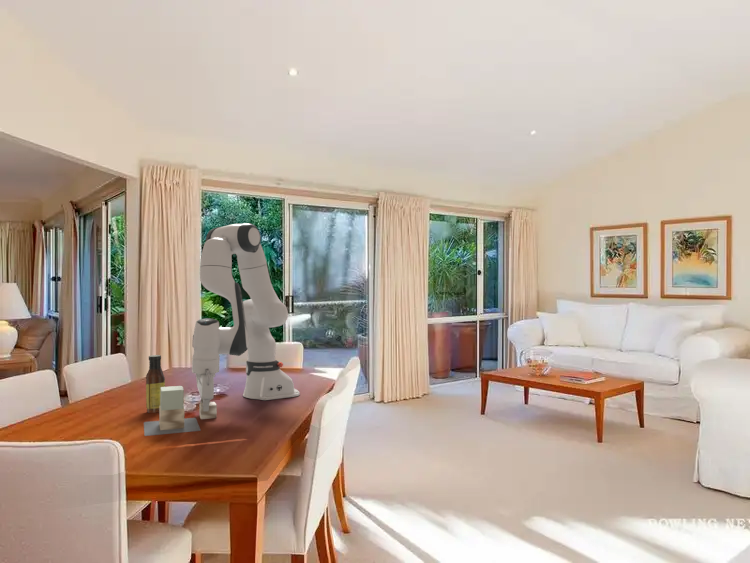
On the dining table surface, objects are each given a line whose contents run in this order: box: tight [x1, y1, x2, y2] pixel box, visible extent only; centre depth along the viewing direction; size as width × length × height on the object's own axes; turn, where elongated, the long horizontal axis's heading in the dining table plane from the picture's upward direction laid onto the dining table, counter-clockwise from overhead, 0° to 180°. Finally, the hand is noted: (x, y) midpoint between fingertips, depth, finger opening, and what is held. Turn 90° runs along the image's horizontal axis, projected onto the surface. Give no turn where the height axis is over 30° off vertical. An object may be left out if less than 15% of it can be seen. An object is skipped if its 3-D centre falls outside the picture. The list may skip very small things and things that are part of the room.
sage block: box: [160, 385, 185, 411], centre depth 171 cm, size 6×6×6 cm
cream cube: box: [198, 401, 218, 420], centre depth 183 cm, size 5×5×5 cm
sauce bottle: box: [145, 354, 166, 414], centre depth 190 cm, size 7×6×20 cm
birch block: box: [158, 406, 185, 430], centre depth 171 cm, size 7×7×6 cm
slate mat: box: [143, 417, 201, 437], centre depth 171 cm, size 16×16×1 cm
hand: (204, 407), depth 183 cm, fingers open, 8 cm apart
